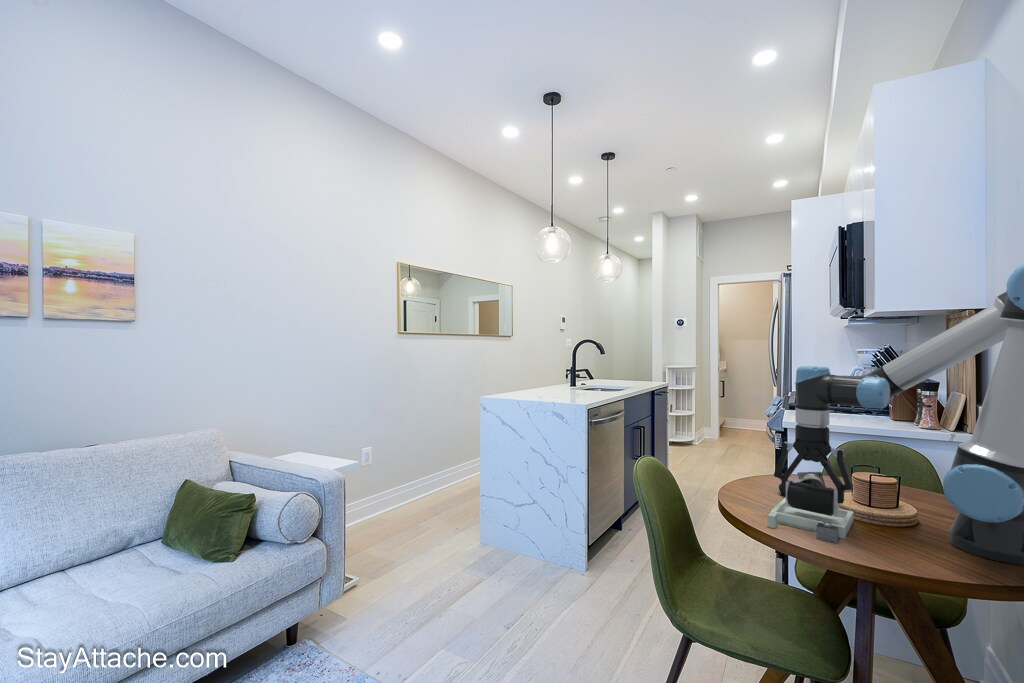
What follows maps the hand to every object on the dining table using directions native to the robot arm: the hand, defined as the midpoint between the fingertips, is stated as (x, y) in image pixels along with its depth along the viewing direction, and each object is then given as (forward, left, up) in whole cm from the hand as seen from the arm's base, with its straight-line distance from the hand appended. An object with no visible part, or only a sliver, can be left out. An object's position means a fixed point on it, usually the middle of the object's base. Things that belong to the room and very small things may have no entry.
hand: (811, 510), depth 123 cm
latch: (-5, +11, -3) cm, 12 cm away
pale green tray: (0, +2, -3) cm, 4 cm away
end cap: (0, 0, -1) cm, 1 cm away
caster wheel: (+6, -22, -3) cm, 23 cm away
